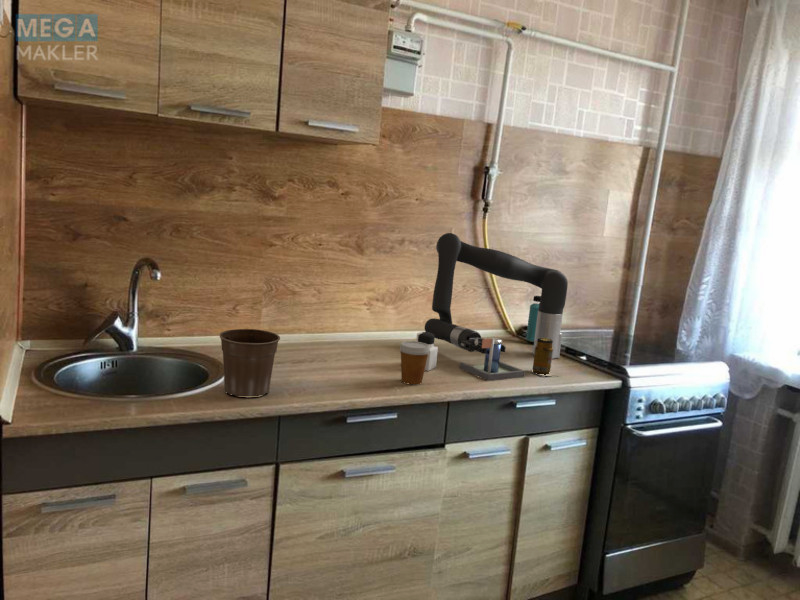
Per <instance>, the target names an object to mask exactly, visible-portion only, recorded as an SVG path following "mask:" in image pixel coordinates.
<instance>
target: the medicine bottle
mask: <svg viewBox="0 0 800 600" xmlns="http://www.w3.org/2000/svg"><path fill="white" fill-rule="evenodd" d="M435 339H436V338H435V335H434V334H432V333H430V332H425V331H419V332H417V333H416V340H415V342H422V343H425V344H428V345H429V349H430V352H429V353H428V357H427V361H426V366H425V370H426V371H425V372H429V370H430V371H431V370H433V369H435V368H436V367H437V363H438V362H437V360H438V353H439V352H438V351H439V348H438V346H435Z"/></svg>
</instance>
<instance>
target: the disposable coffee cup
mask: <svg viewBox="0 0 800 600" xmlns="http://www.w3.org/2000/svg"><path fill="white" fill-rule="evenodd" d="M398 347H399V351H400V366H401V367H400V372H401V376H400V377H401V382H402V381H403V382H405V383H409V384H419V385H421V384H423V379H424V378H423V377H424V374H425V371H424V370H425V366H426V361H427V357H428V353H429V352H430V349H429V345H428V344H425V343H422V342H416V340H414V341H412V340H410V341H409V340H407V341H406V340H405V341H402V342H401V343H400V345H399V346H398ZM403 382H402V383H403ZM405 383H404V384H405ZM420 383H421V384H420ZM409 384H408V385H409Z"/></svg>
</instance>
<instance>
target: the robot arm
mask: <svg viewBox="0 0 800 600" xmlns="http://www.w3.org/2000/svg"><path fill="white" fill-rule="evenodd" d="M435 247H436V252H437V254H438V266H437V274H436V277H435V278H436V279H435V283H434V289H433V296H432V304H431V310H432V312H435V313H436V314H438V316H439V318H430V319H427V321H425V324H424V332H430V333H432V334H434V335H435V338H434V339H437V340H440V341H444V342H447V343H449V344H451V345H454V346H455V347H457V348H460V349H462V350H465V351H467V352H470V353H473V352H475V353H476V352H478V353H481V354H483V355H484V354H486V348H482V341H483V339H486V338H485V337H482V335H481V334H480V332H478V331H477V330H473V329H471V328H468V327H466V326H464V327H463V326H460V325H457V324H454V323H453V318H452V311H451V310H452V309H451V308H452V307H451V305H452V298H453V291H454V290H453V288H454V276H455V269H456V265H457V264H456V263H457V262H458V263H459V262H460V263H461V264H467V265H470V266H472V267H474V268H476V269H478V270H480V271H483V272H485V273H488V274H491V275H494V276H497V277H500V278H503V279H507V280H512V281H516V282H517V281H519V282H524V283H528V284H530V285H533V286H535V287H537V288H540V289H541V293H540V294H541V295H540V296H541V300H540V302H538V304H539V307H538V316H537V324H536V332H535V340H534V341H533V349H532V355H533V356H534V354H535V347H536V345H537V340H538V338H548V339H551V340H552V341H553V346H552V348H553V353H552V360H553V359H559V358H560V354H561V353H560V352H561V347H562V337H563V333H561V329H562V321H563V312H564V309H565V307H566V306H565V305H566V301H567V295H568V294H567V293H568V279H567V276H566V275H565V274H564V273H563V272H561V271H560V270H558V269H554V268H550V267H549V268H548V267H544V266H541V265H540V266H539V265H537V264H533V263H530V262H528V261H526V260H524V259H522V258H520V257H517V256H515V255H512V254H510V253H507V252H504V251H501V250H497V249H493V248H488V247H487V248H486V247H479V246H474V245H471V244H469V243H466V242H464V241H462V240H461V239H460V237H459V236H458V235H456V233H452V232H447V233H446V232H445V233H444V234H442V235H441V236H440V237H439V238H438V239H437V241H436V246H435ZM500 353H506V345H505V344H503V343H502V344H501V352H500Z"/></svg>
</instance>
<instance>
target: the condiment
mask: <svg viewBox="0 0 800 600" xmlns="http://www.w3.org/2000/svg"><path fill="white" fill-rule="evenodd" d="M552 346H553V341H552V340H551V339H548V338H538V340H537V345H536V347H535V354H534V355H533V356H534V357H533V360H532V361H533V362H532V369H527V371H528V372H530V373H532V374H535V373H537V374H544V375H546V374H549V372H550V373H551V368H552V363H553V362H552V360H553V359H552V353H553V348H552ZM532 370H533V372H532ZM537 374H535V375H537ZM553 374H554V375H556V374H555V373H553ZM538 376H539V377H543V378H545V376H542V375H538Z"/></svg>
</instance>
